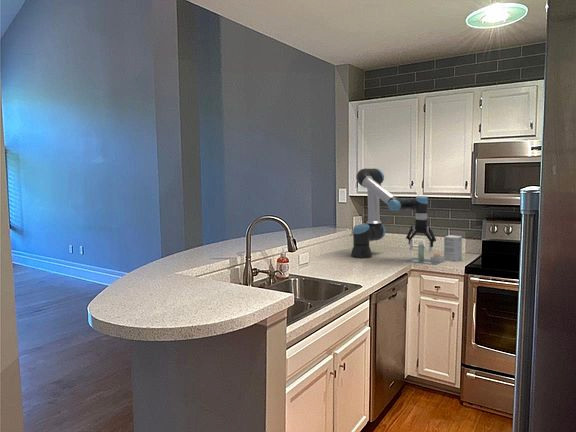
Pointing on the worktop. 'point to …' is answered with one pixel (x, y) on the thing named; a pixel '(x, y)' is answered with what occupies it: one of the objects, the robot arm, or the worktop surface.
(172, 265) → the worktop surface
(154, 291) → the worktop surface
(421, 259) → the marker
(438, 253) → the button
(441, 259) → the button panel board
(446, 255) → the supplement box
